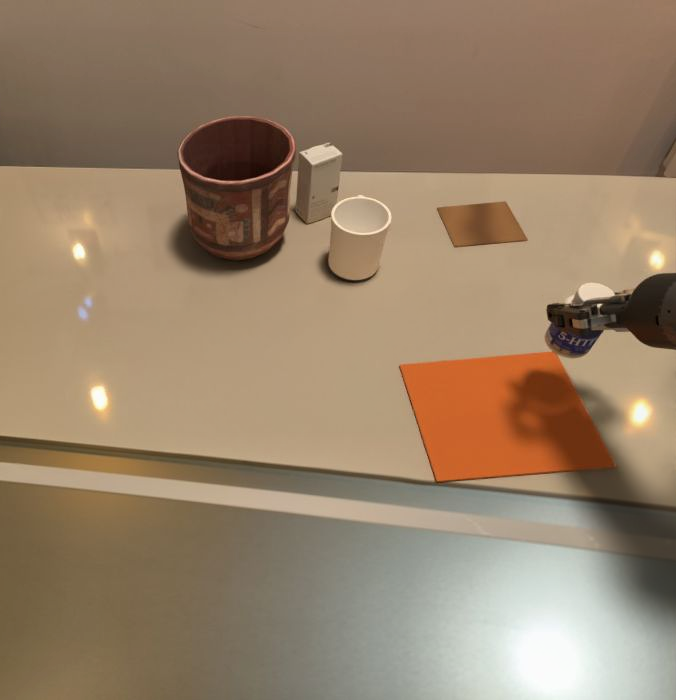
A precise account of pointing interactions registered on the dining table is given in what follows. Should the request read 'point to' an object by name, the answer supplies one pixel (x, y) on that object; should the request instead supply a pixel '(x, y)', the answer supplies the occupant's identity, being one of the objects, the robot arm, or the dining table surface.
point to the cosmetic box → (318, 182)
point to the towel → (502, 417)
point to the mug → (357, 237)
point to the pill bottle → (573, 343)
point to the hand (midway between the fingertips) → (572, 307)
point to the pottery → (237, 184)
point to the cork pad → (481, 224)
